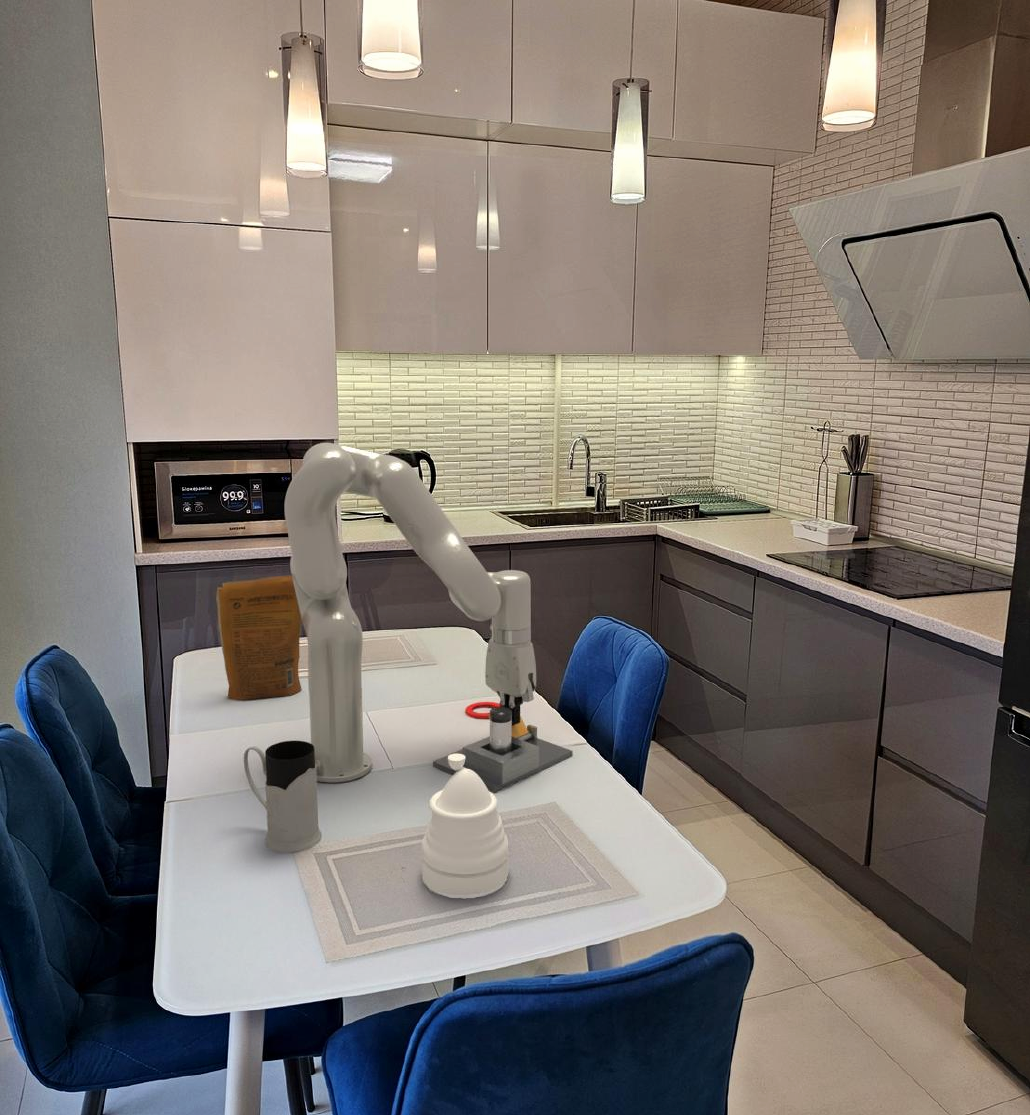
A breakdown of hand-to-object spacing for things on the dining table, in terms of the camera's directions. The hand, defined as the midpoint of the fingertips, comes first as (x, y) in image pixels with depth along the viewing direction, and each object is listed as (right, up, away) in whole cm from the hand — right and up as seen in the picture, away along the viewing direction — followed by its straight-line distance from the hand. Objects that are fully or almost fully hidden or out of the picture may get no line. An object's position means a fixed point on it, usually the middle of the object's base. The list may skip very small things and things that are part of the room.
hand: (511, 723), depth 179 cm
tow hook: (-6, -1, +19) cm, 20 cm away
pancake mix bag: (-56, +1, +27) cm, 63 cm away
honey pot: (-7, -14, -44) cm, 47 cm away
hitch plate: (-2, -6, -5) cm, 8 cm away
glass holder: (-37, -12, -33) cm, 51 cm away
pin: (-2, -6, -10) cm, 12 cm away
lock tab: (+1, -3, 0) cm, 4 cm away
